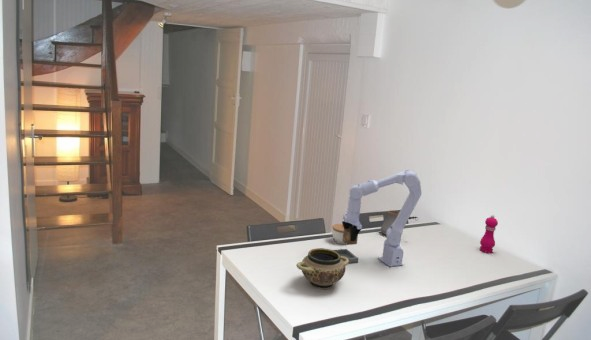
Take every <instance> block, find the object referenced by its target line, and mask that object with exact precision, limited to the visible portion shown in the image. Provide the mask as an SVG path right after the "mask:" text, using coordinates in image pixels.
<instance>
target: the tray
mask: <svg viewBox="0 0 591 340" xmlns="http://www.w3.org/2000/svg"><path fill="white" fill-rule="evenodd" d="M332 250H333V251H335V252H337V253H339V254H340V256H343V257H346V258H348V260H349V263H348V264H347V265H349V264H350V265H351V264H358V263H359V257H358V256H357V255H355V254H354V253H353V252H351V251H350V250H348V249H347V248H342V249H341V248H340V249H332ZM342 261H344V262H345V260H342Z"/></svg>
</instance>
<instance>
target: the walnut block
mask: <svg viewBox="0 0 591 340" xmlns="http://www.w3.org/2000/svg"><path fill="white" fill-rule="evenodd" d="M358 237H359V234H358V235H357V238H356V240H355V241H351V232H350V229H344V232H343V240H342V241H343V242H344V243H346V245H347V246H348V245H349V246H350V245H357V244H358Z"/></svg>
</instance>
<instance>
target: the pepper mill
mask: <svg viewBox="0 0 591 340" xmlns="http://www.w3.org/2000/svg"><path fill="white" fill-rule="evenodd" d="M495 217H496V216H495V215H494V214H491V215H490V217H487V218H486V219H485V222H484V223H485V232H484V234H483V236H482V237H481V239H480V242H479V244H480V247H479V251H480V252H482V253H485V254H492V253H493V252H494V251H493V250H494V249H493V248H495V246H496V240H495V236H494V235H495V231H496V228H497V226H498V220H497V219H496V218H495Z"/></svg>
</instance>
